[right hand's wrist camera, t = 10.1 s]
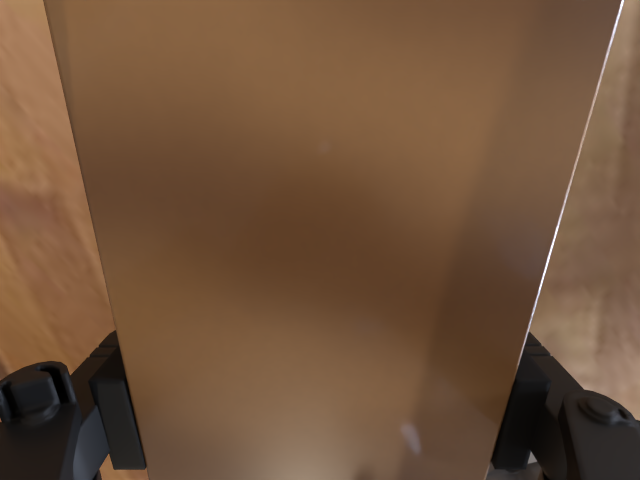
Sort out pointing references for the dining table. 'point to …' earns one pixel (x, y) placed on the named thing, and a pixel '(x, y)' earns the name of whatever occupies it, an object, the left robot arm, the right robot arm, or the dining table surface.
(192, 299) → the long beam
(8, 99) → the dining table surface
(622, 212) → the dining table surface
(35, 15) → the dining table surface
